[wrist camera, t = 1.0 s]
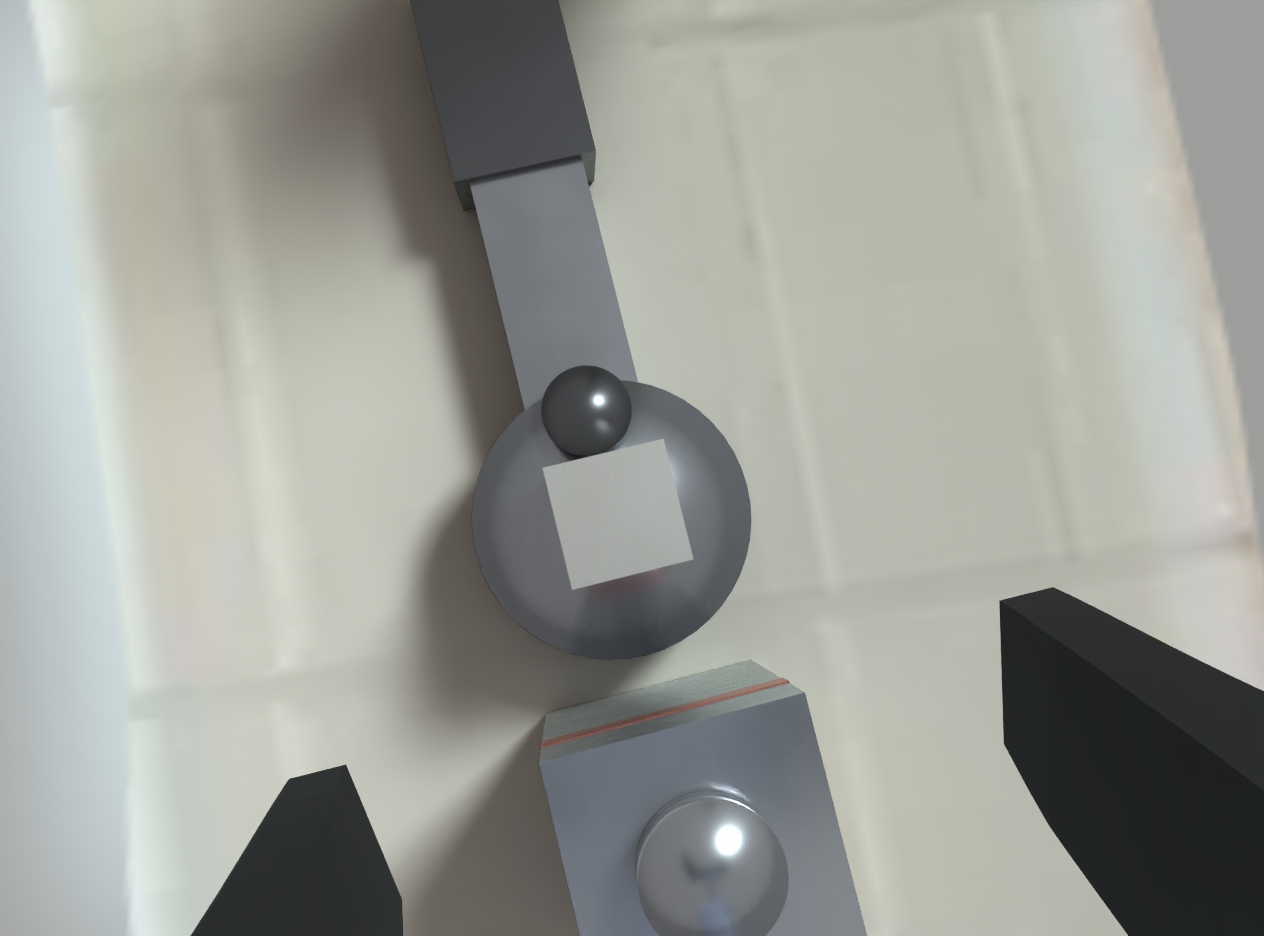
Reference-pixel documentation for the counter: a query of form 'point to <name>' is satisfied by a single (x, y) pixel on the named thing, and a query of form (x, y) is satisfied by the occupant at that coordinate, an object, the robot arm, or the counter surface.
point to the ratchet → (573, 365)
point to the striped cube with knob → (698, 811)
